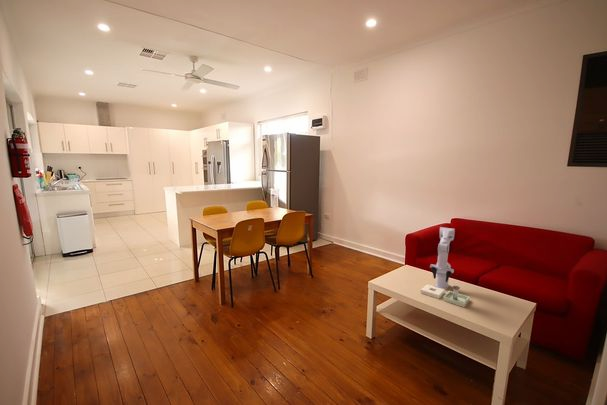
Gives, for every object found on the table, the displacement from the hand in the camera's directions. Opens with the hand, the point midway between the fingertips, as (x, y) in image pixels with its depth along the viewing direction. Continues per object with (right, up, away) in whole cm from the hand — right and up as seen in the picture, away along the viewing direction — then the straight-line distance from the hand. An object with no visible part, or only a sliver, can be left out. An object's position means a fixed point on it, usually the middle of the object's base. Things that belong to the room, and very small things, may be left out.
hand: (440, 279), depth 188 cm
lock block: (-4, -10, +3) cm, 11 cm away
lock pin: (+6, -11, -7) cm, 14 cm away
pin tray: (+7, -12, -7) cm, 15 cm away
